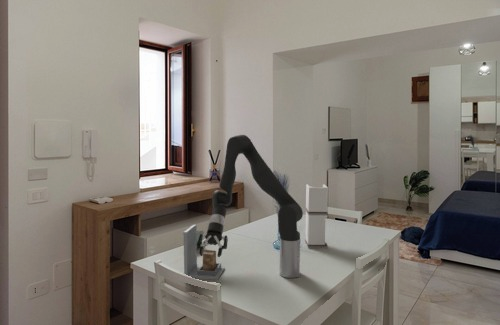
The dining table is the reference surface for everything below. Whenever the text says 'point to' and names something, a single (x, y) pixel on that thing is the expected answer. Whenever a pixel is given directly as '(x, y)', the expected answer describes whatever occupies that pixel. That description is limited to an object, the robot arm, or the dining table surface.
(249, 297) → the dining table surface
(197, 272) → the grey socket stand
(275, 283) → the dining table surface
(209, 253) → the walnut block
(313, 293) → the dining table surface
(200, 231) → the food container
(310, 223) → the white square tower
